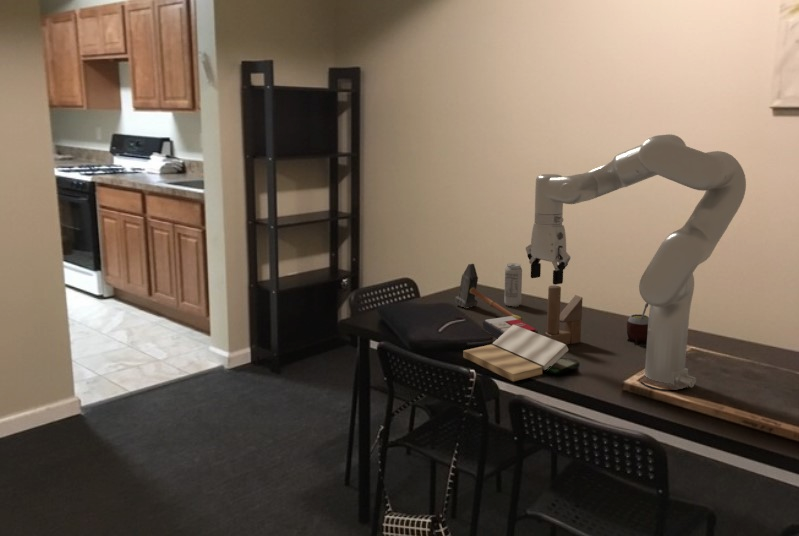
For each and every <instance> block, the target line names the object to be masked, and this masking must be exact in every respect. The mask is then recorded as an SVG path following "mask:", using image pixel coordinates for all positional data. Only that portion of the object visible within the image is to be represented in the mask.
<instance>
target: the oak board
mask: <svg viewBox="0 0 799 536" xmlns="http://www.w3.org/2000/svg"><path fill="white" fill-rule="evenodd" d="M462 352H463V353H462V357H463V358H464V359H465V360H468V361H470V362H472V363H475V364H476V365H478V366H481V367H483V368H484V369H487V370H488V371H491V372H492V373H494V374H497V375H499V376H501V377H503V378H505V379H507V380H510V381H511V382H517V381H520V380H525V379H529V378H532V377H536V376H540V375H543V369H542V367H541V366H539V365H537V364H535V363H532V362H530V361H528V360H525V359H523V358H521V357H519V356H516V355H514V354H512V353H509V352H507V351H505V350H503V349H500V348H498V347H496V346H493V344H487V345H484V346H483V345H482V346H478V347H474V348H470V349H469V348H468V349H465V350H463V351H462Z"/></svg>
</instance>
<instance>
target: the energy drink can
mask: <svg viewBox="0 0 799 536" xmlns="http://www.w3.org/2000/svg"><path fill="white" fill-rule="evenodd" d="M522 286H523V268H522V267H521V264H520V263H512V262H511V263H507V264H506V268H505V269H504V296H503V297H504V301H503V302H504V304H505V306H506V305H509V306H518V307H520V306H519V305H521V304H522V290H523V289H522Z"/></svg>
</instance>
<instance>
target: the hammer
mask: <svg viewBox="0 0 799 536" xmlns="http://www.w3.org/2000/svg"><path fill="white" fill-rule="evenodd" d="M478 281H479V277H478V274H477V270H476V266H475V263H469V264H468V265H467V267H466V268H465V270H464V271H463V274H462V275H461V280H460V287H459V291H458V295H457V296H455V297H454V300H453V301H454V303H455V304H456V305H458V306H460V307H461V308H462V307H464V308H465V309H467V308H466V307H470V308H472V307H471V306H475V307H477V306H476V305H478V304H479V303H478V300H477V299H476V298H475V297H477V298H478V299H480V300H482V301H483V302H484V303H486V304H488V305H490V307H492V308H494V309H496V310H498V312H500V313H502V314H503V315H504V316H505V317H508V316H512V317H514V318H516V319H517V320H520V321H522V322H524V320H523V318H522V316H520V315H516V314H514V313H512V312H511V311H509V310H507V309H506V308H505V307H503V306H501V305H500V304H498V303H497V302H496V301H495V300H492V299H490V298H489V297H488V296H486V295H485V294H483V293H482V292H480V291H478V290H477V287H478ZM464 308H463V309H464Z"/></svg>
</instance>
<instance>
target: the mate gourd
mask: <svg viewBox="0 0 799 536" xmlns="http://www.w3.org/2000/svg"><path fill="white" fill-rule="evenodd" d="M648 307H649V304H648V303H646V302H645V305H644V309H643V312H642V314H631V315H630V316H629V317H628V319H627V321H626V334H627V339H626V340H627V342H632V343H634V345H635V346H638V345H639V344H640V343H641V344H646V345H647V334H648V321H649V315H645V313H646V311H647V308H648Z"/></svg>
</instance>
